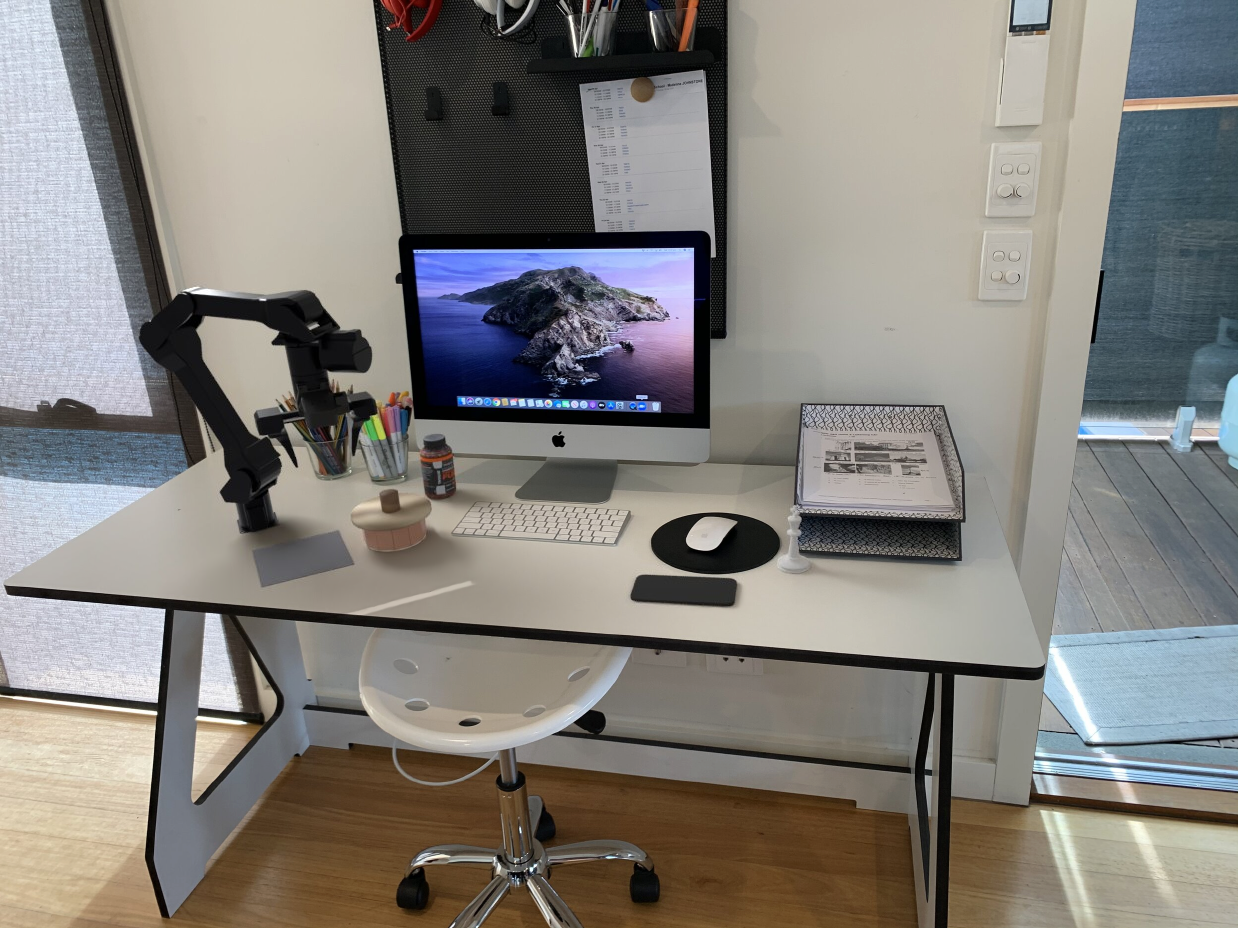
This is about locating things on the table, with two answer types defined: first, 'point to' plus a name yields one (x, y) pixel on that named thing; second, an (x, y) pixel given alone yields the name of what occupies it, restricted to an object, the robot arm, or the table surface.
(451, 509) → the table surface
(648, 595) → the phone
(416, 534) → the bowl
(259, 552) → the mat
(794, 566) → the chess piece
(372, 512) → the lid
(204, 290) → the robot arm
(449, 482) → the supplement bottle
